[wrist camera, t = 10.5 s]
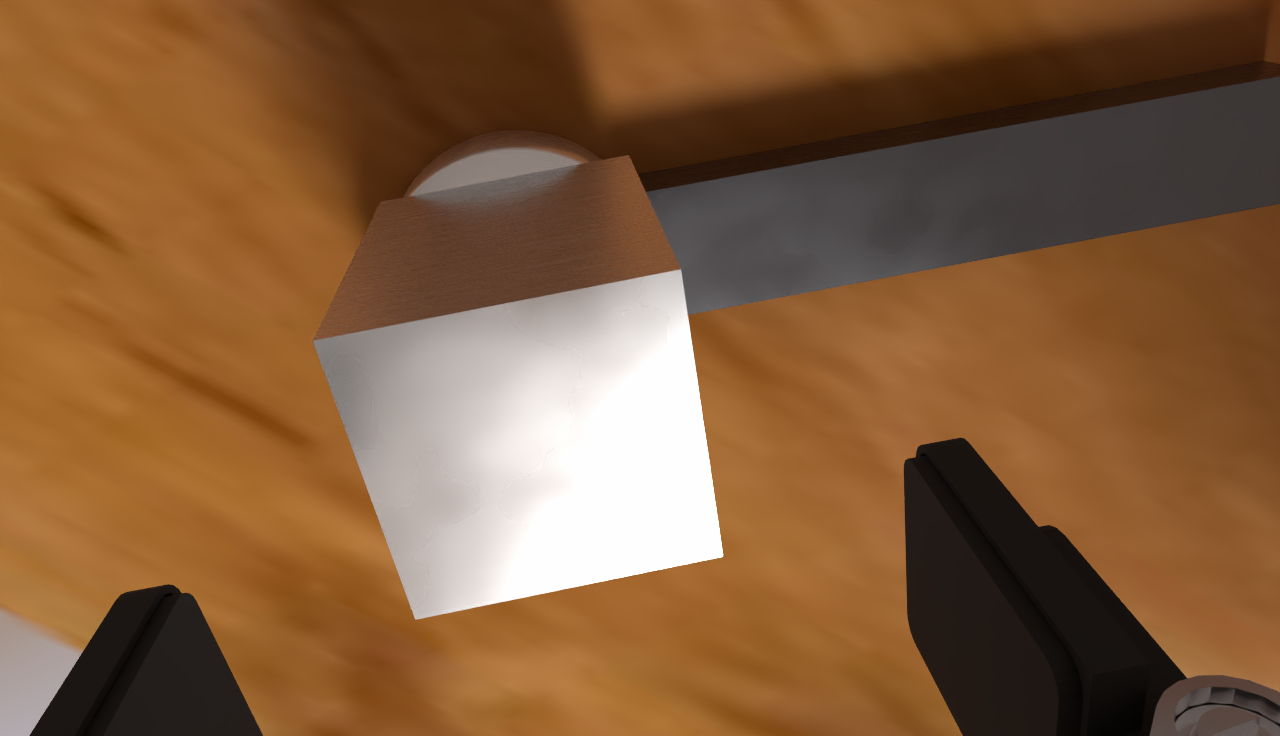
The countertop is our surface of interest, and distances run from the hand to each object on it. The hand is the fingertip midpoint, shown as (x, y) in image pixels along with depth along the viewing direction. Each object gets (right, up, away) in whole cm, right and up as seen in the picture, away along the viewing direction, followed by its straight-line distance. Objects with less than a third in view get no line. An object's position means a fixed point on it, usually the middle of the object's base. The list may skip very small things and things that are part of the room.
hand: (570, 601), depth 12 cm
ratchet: (+6, +7, +11) cm, 14 cm away
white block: (-2, +5, +9) cm, 10 cm away
